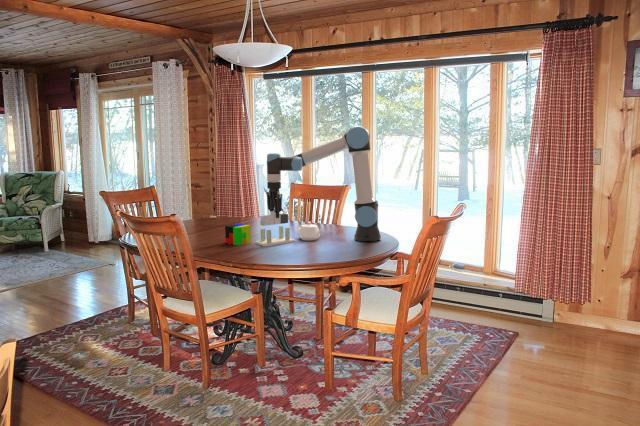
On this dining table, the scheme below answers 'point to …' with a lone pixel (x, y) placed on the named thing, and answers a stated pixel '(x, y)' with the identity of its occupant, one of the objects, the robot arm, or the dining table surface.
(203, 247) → the dining table surface
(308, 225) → the teapot
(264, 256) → the dining table surface
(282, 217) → the bar
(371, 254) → the dining table surface
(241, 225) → the puzzle toy
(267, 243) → the rack
